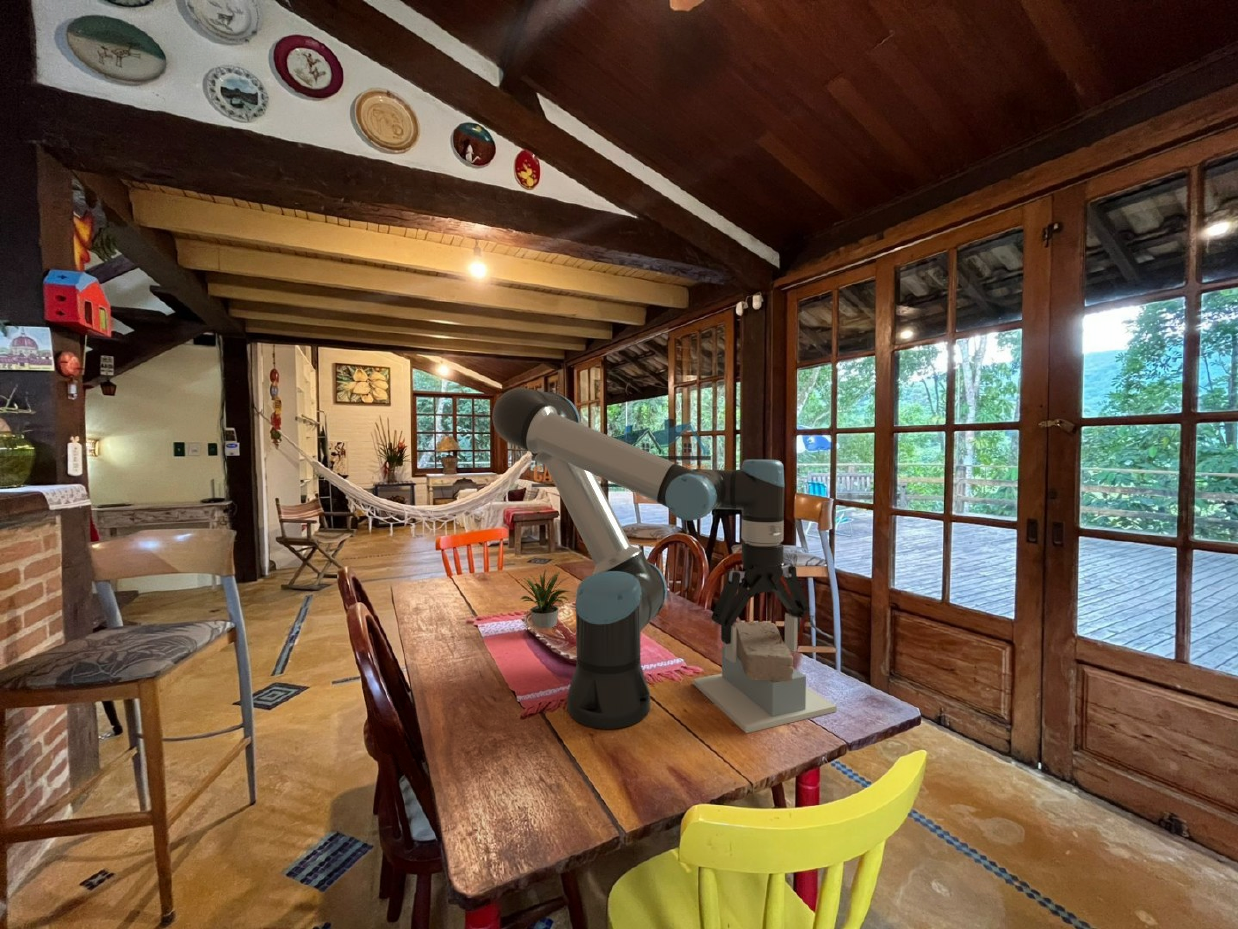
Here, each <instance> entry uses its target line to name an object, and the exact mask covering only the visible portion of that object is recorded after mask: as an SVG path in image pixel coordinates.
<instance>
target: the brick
mask: <svg viewBox="0 0 1238 929" xmlns="http://www.w3.org/2000/svg"><path fill="white" fill-rule="evenodd" d="M733 625H734V626H736V650H737V652H738V656H739V658H740V661H741V663H742V665H743V670H744V672H745V674H746V676H747V677H748V678H749V679H752V680H761V681H763V680H769V681H770V680H771V681H791V680H792V678H793V677H792V674H793V668H794V656H793V655H792V652H791V650H790V649H788V648H787V647H786V645H785V641H784V640H783V638H782V636H781V634H780V630H779V629H778V627H777V625H776V624H775V623H773V622H768V621H750V622H749V621H748V622H747V621H744V622H736V621H735V622H734V624H733Z"/></svg>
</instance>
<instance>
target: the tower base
mask: <svg viewBox="0 0 1238 929" xmlns="http://www.w3.org/2000/svg"><path fill="white" fill-rule="evenodd" d="M721 648H722V649H721V673H719V674H713V675H708V676H703V677H697V678H693V679H692V680H693V681H692V684H693V685H694V686H695V687H696V688H697V689H698V690H699V691H700V692H701V693H702V694H703V695H704V696H706V697H707V698H708V699H709V701H711V702H712V703H713V704H714V705H715V706H716V707H717V708H718V709H719V710H720V711H721V712H723V713H724V715H726V716H727V717H728V718H729V719H730V720H731V721H733V723H735V725H737V726H738V727H739V728H740V729H741V730H742V731H743V732H745V734H749V733H753V732H757V731H761V730H765V729H770V728H774V727H777V726H782V725H786V724H790V723H794V722H799V721H803V720H807V719H811V718H814V717H820V716H823V715H827V714H832V713H836V712H837V707H838V706H837V705H836V704H834V703H833V702H831V701H830V700H828V699H826V698H825V697H824V696H822V695H821V694H819V693H817V692H816V691H814V690H813V689H811V688H810V687H808V686H807V676H806V675H805V674H803V673H801V672H800V671H799V670H797V669H795V668H794V667H793V674H792V677H793V678H792V680H791V681H771V680H770V681H769V680H763V681H761V680H752V679H749V678H748V677H747V676H746V674H745V672H744V670H743V665H742V663H741V661H740V658H739V656H738V652H737V650H736V662H735V663H732V662H731V661H729V660H728V659H727V658H725V657H724V655H725V646H722V647H721Z"/></svg>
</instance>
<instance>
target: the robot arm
mask: <svg viewBox="0 0 1238 929" xmlns="http://www.w3.org/2000/svg"><path fill="white" fill-rule="evenodd" d="M491 420H492V423H493V424H492V425H493V426H494V430H495V431H496V433H497V434H498V435H499V437H500V438H502V440H504V441H505V442H507V443H509V444H511V445H513V446H516V447H518V448H520V449H522V450H525V451H526V452H530V453H531V456H532V458H533V459H534V461H535V462H536V463H538V464H542V465H544V466H545V468H546V470H547V472H548V474H549V476H550V478H551V480H552V482H553V484H554V486H555V487H556V490H557V492H558V494H559V495H560V498H561V500H562V502H563V504H564V505H565V507H566V509H567V511H568V513H569V515H570V518H571V520H572V521H573V524H574V525H575V528H576V529H577V530H576V531H578V533H579V536H580V537H581V539H582V542H583V544H584V545H585V547H586V549H587V551H588V553H589V556H590V557H591V559H592V562H593V563H594V570H593V572H592V574H591V575H588V576H587V577H585V578H584V579H582V580H581V581H580V583H579V584H578V586H577V590H576V597H575V603H574V606H575V607H574V608H575V616H576V617H575V619H576V620H575V621H576V622H575V624H576V626H575V628H576V629H575V630H576V632H575V633H576V667H575V669H574V673H573V676H572V679H571V681H570V682H571V683H570V686H569V688H568V693H567V695H566V696H567V697H566V700H567V702H566V703H567V705H566V707H567V712H568V714H569V716H570V717H571V719H573V720H574V721H576V722H577V723H578V724H581V725H584V726H586V727H590V728H593V729H600V730H601V729H602V730H604V729H605V730H612V729H613V730H614V729H621V728H626V727H629V726H633V725H635V724H637V723H639V722H641V721H642V720H643V719H645V718H646V717H647V716H648V714H649V713H650V711H651V692H650V690H649V687H648V684H647V683H648V682H647V680H646V678H645V674H644V671H643V668H642V663H641V652H642V651H641V650H642V649H641V639H642V638H641V636H642V635H641V634H642V631H643V630H644V628H646V627H647V625H648V624H649V623H650V622H651V621H652V620H654V619H655V618H656V617H657V616H658V614H659V613H660V612H661V610H662V608H663V606H664V605H665V602H666V599H667V596H668V585H667V581H666V578H665V576H664V574H663V573H662V571H661V570H660V569H659V567H657V566H656V565H655V564H653V563H650V562H649V561H648V559H647V557H646V556H645V554H644V552H643V550H642V549H640V548H638V547H635V546H633V545H632V544H631V542H630V541H629V539H628V537H627V534H626V533H625V531H624V529H623V527H622V525H621V524H620V521H619V519H618V517H617V515H616V513H615V511H614V510H613V507H612V506H611V503H610V502H609V499H608V498H607V496H606V494H605V492H604V490H603V488H602V486H601V484H600V482H599V480H598V479H597V478H598V477H599V478H600V479H604V480H606V481H608V482H610V483H613V484H615V485H616V486H617V485H618V486H619V487H621V488H624V489H626V490H628V491H631V492H633V493H635V494H638V495H639V496H642V497H644V498H646V499H649V500H651V501H653V502H655V503H657V504H659V505H662V506H663V507H666V508H667V509H668V510H669V512H670V513H671V515H674V516H675V517H676V518H678V519H679V520H683V521H696V520H700V519H703V518H705V517H706V516H708V515H710V513H711V512H712V511H714V510H736V511H737V510H740V511H741V537H740V538H741V539H742V540H743V542H742V543H741V562H742V568H741V570H734V569H730V568H729V569H728V570H727V572H726V579H725V580H726V581H725V583H724V585H723V588H722V591H721V593H720V595H719V598H718V600H717V602H716V605H715V607H714V609H713V612H712V614H711V617H710V618H711V620H712V621H713V622H715V623H716V624H718V625H719V626H720V639H721V642H723V644H724V647H725V655H724V657H725V658H727V659H728V660H729V661H731V662H732V663H735V662H736V626H734V624H735V622H736V620H737V619H738V617H739V616H740V615H741V613H742V612H743V610H744V609H745V607H746V606H747V604H748V603H749V601H750V600H751V599H752V598H753V597H755V595H757V594H758V595H760V594H763V593H774V594H775V595H776V598H778V600H779V601H780V602H781V603H782V604H783V606H784V607H785V608H786V610H787V611H788V613H787V612H785V614H784V644H785V645H786V647H787V648H788V649H789V650H790V651H792V652H793V653H795V652H798V633H799V632H800V631H801V619H802V618H803V619H804V617H805V616H806V614H805V613H808V612H810V606H809V603H808V601H807V598H806V597H805V594H804V590H803V589H802V586H801V584H800V582H799V579H798V577H797V567H796V566H794V565H792V564H789V563H784V545H783V544H782V542H783V541H784V534H785V532H784V530H785V529H784V528H785V527H784V526H785V524H784V523H785V522H784V521H785V520H784V518H785V517H784V516H785V514H784V513H785V512H784V511H785V470H784V468H785V467H784V464H783V463H782V461H780V460H779V459H744V460H743V461H742V466H741V467H740V469H733V470H732V469H707V468H706V469H704V468H703V469H701V468H693V469H692V468H691V469H690V468H688V467H685V466H683V465H680V464H677V463H676V462H673V461H670V460H669V459H666V458H663V457H661V456H658V455H657V454H653V453H651V452H649V451H646V450H644V449H642V448H639V447H637V446H635V445H632V444H629V443H627V442H625V441H622V440H621V439H617V438H615V437H612V436H610V435H607V434H605V433H604V432H601V431H598V430H596V429H593V428H591V427H588V426H586V425H584V424H582V423H581V419H580V415H579V411H578V409H577V407H576V405H574V403H573V402H572V401H571V400H570V399H568V398H567V397H565V396H562V394H559V393H556V392H553V391H551V392H550V391H542V390H541V391H540V390H536V389H532V388H528V387H517V388H513V389H509V390H508V391H506V392H504V393H503V394H501V395H500V396H499V398H498V399H497V400H496V402H495V404H494V406H493V410H492V419H491ZM782 577H783V579H784V581H785V584H786V586H787V589H788V591H789V592H788V591H786V587H785V586H784V585H783V584H782V583H781V581H780V580H781V578H782ZM742 580H743V581H742Z"/></svg>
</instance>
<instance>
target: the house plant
mask: <svg viewBox="0 0 1238 929" xmlns="http://www.w3.org/2000/svg"><path fill="white" fill-rule="evenodd" d="M546 572H547V568H545V570H544V572H543V575H542V574H541V573H540V574H539V578H540V580H539V581H540V584H539V583H538V582H537V581H536V578H535V577H534V576H532V575H530V574H529V576H530V577H532V579H533V580H534V583H533V581H531V579H530V578H529V577H527V576H525V577H523V579H524V580H525V581H524V583H525V584H526V585H527V586H528V588H527V589H530V591H531V592H532V593H533V595H534V597H535V600H534V599H533V598H532V597H530V596H528V595H524V596H522V597H521V598H520V600H519V601H521V600H523V601H522V603H523V602H533V603H534V604H535V605H534V606H532V607H531V608H530V610H529V611H530V616H531V617H530V618H531V623H532V627H533V626H536V627H539V628H546V629H547V628H552V627H554V626H556V627H557V624H558V617H559V610H560V609H559V607H558V606H556V605H554V604H556V603H561V604H564V602H563V600H562V599H564V600H565V601H567V602H568V603H569V599H568V598H567V597H566V596H563V595H562V596H560V595H561V594H564V593H567V592H568V593H569V592H570V593H571V591H569V590H566V589H562V588H560V589H557V588H558V586H559V585H561V583H562V582H564V581H566V580H567V579H569V577H567V578H563V579H562V580H561V581H559V582H558V583H556V582H557V581H558V577H559V575H560V573H561V571H559V572H557V573H556V572H555V574H554V575H552V577H551V578H550V579H549V580H548V582H547V584H546ZM517 580H519V581H521V579H520V578H517Z"/></svg>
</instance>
